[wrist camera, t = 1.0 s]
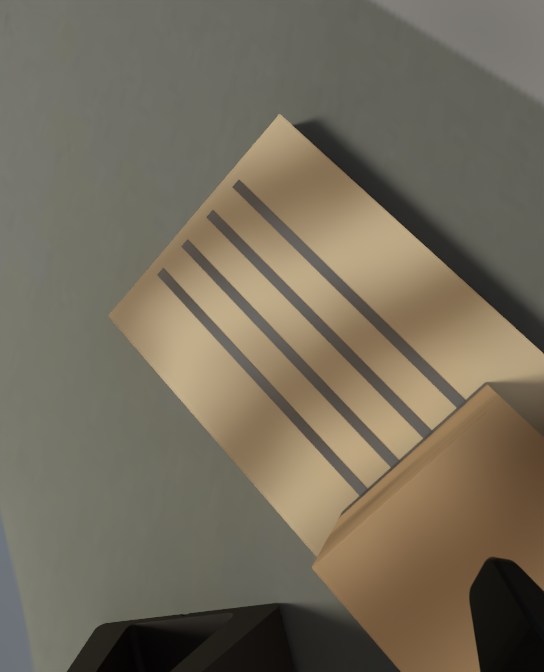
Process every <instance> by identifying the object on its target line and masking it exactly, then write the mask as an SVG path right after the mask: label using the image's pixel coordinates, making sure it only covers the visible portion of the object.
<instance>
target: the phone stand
mask: <svg viewBox="0 0 544 672" xmlns="http://www.w3.org/2000/svg"><path fill="white" fill-rule="evenodd" d="M67 672H294V669H293V665H292V661H291V657H290V653H289V649H288V645H287V640H286V636H285V632H284V628H283V624H282V620H281V616H280V612H279V608H278V605H277V604H275V603H273V604H264V605H256V606H247V607H239V608H231V609H222V610H214V611H205V612H197V613H189V614H188V615H186V616H182V614H180V615H171V616H163V617H155V618H146V619H138V620H129V621H121V622H112V623H105V624H102V625H100V626H99V627H97V628H96V629H95V630H94V632H93V633H92V635H91V636H90V638H89V639H88V641H87V642H86V644H85V645H84V647H83V648H82V650H81V651H80V653H79V654H78V656H77V657H76V659H75V660H74V662H73V663H72V665H71V666H70V668H69V669H68V671H67Z"/></svg>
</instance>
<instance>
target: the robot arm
mask: <svg viewBox="0 0 544 672" xmlns="http://www.w3.org/2000/svg"><path fill="white" fill-rule="evenodd" d="M469 603H470V610H471V616H472V622H473V629H474V635H475V641H476V648H477V654H478V660H479V667H480V672H544V591H543V590H542V589H541V588H540V587H539V586H538V585H537V584H536V583H535V582H534V581H533V580H532V579H531V578H530V576H529V575H528V574H527V573H526V572H525V571H524V570H523V569H522V568H521V567H520V566H519V565H518V564H516V563H515V562H514V561H512V560H510V559H504V558H498V557H489V558H487V559H486V560H485V562H484V563H483V565H482V567H481V569H480V571H479V572H478V574H477V576H476V578H475V579H474V581H473V583H472V585H471V587H470V591H469Z"/></svg>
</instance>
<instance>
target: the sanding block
mask: <svg viewBox="0 0 544 672" xmlns="http://www.w3.org/2000/svg"><path fill="white" fill-rule="evenodd" d="M489 557H498V558H504V559H510V560H512V561H514V562H515V563H516V564H518V565H519V566H520V567H521V568H522V569H523V570H524V571H525V572H526V573H527V574H528V575H529V576H530V578H531V579H532V580H533V581H534V582H535V583H536V584H537V585H538V586H539V587H540V588H541V589H542V590H543V591H544V438H543V437H542V436H541V435H540V434H539V433H538V432H537V431H536V430H535V429H534V428H533V427H532V426H531V425H530V424H529V423H528V422H527V421H526V420H525V419H523V418H522V417H521V416H520V415H519V414H518V413H517V412H516V411H515V410H514V409H513V408H512V407H511V406H510V405H509V404H508V403H507V402H506V401H505V400H504V399H502V398H501V397H500V396H499V395H498V394H497V393H496V392H495V391H494V390H493V389H492V388H491V387H490V386H489V385H487V384H486V383H484V384H483V385H482V386H481V387H479V388H478V389H477V390H476V391H475V392H474V393H473V394H472V395H471V396H469V397H468V398H467V399H466V400H465V401H464V402H463V403H462V404H461V405H460V406H458V407H457V408H456V409H455V410H454V411H453V412H452V413H451V414H450V415H448V416H447V417H446V418H445V419H444V420H443V421H442V422H441V423H440V424H438V425H437V426H436V427H435V428H434V429H433V430H432V431H431V432H430V433H429V434H427V435H426V436H425V437H424V438H423V439H422V440H421V441H420V442H419V443H417V444H416V445H415V446H414V447H413V448H412V449H411V450H410V451H409V452H408V453H406V454H405V455H404V456H403V457H402V458H401V459H400V460H399V461H398V462H396V463H395V464H394V465H393V466H392V467H391V468H390V469H389V470H388V471H386V472H385V473H384V474H383V475H382V476H381V477H380V478H379V479H378V480H377V481H375V482H374V483H373V484H372V485H371V486H370V487H369V488H368V489H367V490H365V491H364V492H363V493H362V494H361V495H360V496H359V497H358V498H357V499H356V500H354V501H353V502H352V503H351V504H350V505H349V506H348V507H347V508H346V509H344V510H343V511H342V513H341V515H340V517H339V519H338V520H337V522H336V524H335V526H334V528H333V529H332V531H331V533H330V535H329V537H328V538H327V540H326V542H325V544H324V546H323V548H322V549H321V551H320V553H319V555H318V557H317V558H316V560H315V562H314V564H313V566H312V569H313V570H314V571H315V572H316V573H317V575H318V576H319V577H320V578H321V579H322V580H323V582H324V583H325V584H326V585H327V586H328V587H329V589H330V590H331V591H332V592H333V593H334V594H335V596H336V597H337V598H338V599H339V600H340V601H341V603H342V604H343V605H344V606H345V607H346V608H347V610H348V611H349V612H350V613H351V614H352V615H353V617H354V618H355V619H356V620H357V621H358V622H359V624H360V625H361V626H362V627H363V628H364V629H365V631H366V632H367V633H368V634H369V635H370V636H371V638H372V639H373V640H374V641H375V642H376V643H377V645H378V646H379V647H380V648H381V649H382V650H383V652H384V653H385V654H386V655H387V656H388V657H389V659H390V660H391V661H392V662H393V663H394V664H395V666H396V667H397V668H398V669H399V670H400V671H401V672H480V667H479V660H478V654H477V648H476V641H475V635H474V629H473V622H472V616H471V610H470V603H469V591H470V587H471V585H472V583H473V581H474V579H475V578H476V576H477V574H478V572H479V571H480V569H481V567H482V565H483V563H484V562H485V560H486V559H487V558H489Z"/></svg>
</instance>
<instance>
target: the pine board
mask: <svg viewBox="0 0 544 672" xmlns="http://www.w3.org/2000/svg"><path fill="white" fill-rule="evenodd" d="M108 316H109V318H110V319H111V320H112V321H113V322H114V323H115V324H116V326H117V327H118V328H119V329H120V330H121V331H122V333H123V334H124V335H125V336H126V337H127V338H128V339H129V341H130V342H131V343H132V344H133V345H134V346H135V348H136V349H137V350H138V351H139V352H140V353H141V355H142V356H143V357H144V358H145V359H146V360H147V361H148V363H149V364H150V365H151V366H152V367H153V368H154V370H155V371H156V372H157V373H158V374H159V375H160V376H161V378H162V379H163V380H164V381H165V382H166V383H167V385H168V386H169V387H170V388H171V389H172V390H173V392H174V393H175V394H176V395H177V396H178V397H179V398H180V400H181V401H182V402H183V403H184V404H185V405H186V407H187V408H188V409H189V410H190V411H191V412H192V413H193V415H194V416H195V417H196V418H197V419H198V420H199V422H200V423H201V424H202V425H203V426H204V427H205V429H206V430H207V431H208V432H209V433H210V434H211V435H212V437H213V438H214V439H215V440H216V441H217V442H218V444H219V445H220V446H221V447H222V448H223V449H224V450H225V452H226V453H227V454H228V455H229V456H230V457H231V459H232V460H233V461H234V462H235V463H236V464H237V466H238V467H239V468H240V469H241V470H242V471H243V472H244V474H245V475H246V476H247V477H248V478H249V479H250V481H251V482H252V483H253V484H254V485H255V486H256V487H257V489H258V490H259V491H260V492H261V493H262V494H263V496H264V497H265V498H266V499H267V500H268V501H269V503H270V504H271V505H272V506H273V507H274V508H275V509H276V511H277V512H278V513H279V514H280V515H281V516H282V518H283V519H284V520H285V521H286V522H287V523H288V524H289V526H290V527H291V528H292V529H293V530H294V531H295V533H296V534H297V535H298V536H299V537H300V538H301V540H302V541H303V542H304V543H305V544H306V545H307V546H308V548H309V549H310V550H311V551H312V552H313V553H314V555H315V556H316V557H318V555H319V553H320V551H321V549H322V548H323V546H324V544H325V542H326V540H327V538H328V537H329V535H330V533H331V531H332V529H333V528H334V526H335V524H336V522H337V520H338V519H339V517H340V515H341V513H342V511H343V510H344V509H346V508H347V507H348V506H349V505H350V504H351V503H352V502H353V501H354V500H356V499H357V498H358V497H359V496H360V495H361V494H362V493H363V492H364V491H365V490H367V489H368V488H369V487H370V486H371V485H372V484H373V483H374V482H375V481H377V480H378V479H379V478H380V477H381V476H382V475H383V474H384V473H385V472H386V471H388V470H389V469H390V468H391V467H392V466H393V465H394V464H395V463H396V462H398V461H399V460H400V459H401V458H402V457H403V456H404V455H405V454H406V453H408V452H409V451H410V450H411V449H412V448H413V447H414V446H415V445H416V444H417V443H419V442H420V441H421V440H422V439H423V438H424V437H425V436H426V435H427V434H429V433H430V432H431V431H432V430H433V429H434V428H435V427H436V426H437V425H438V424H440V423H441V422H442V421H443V420H444V419H445V418H446V417H447V416H448V415H450V414H451V413H452V412H453V411H454V410H455V409H456V408H457V407H458V406H460V405H461V404H462V403H463V402H464V401H465V400H466V399H467V398H468V397H469V396H471V395H472V394H473V393H474V392H475V391H476V390H477V389H478V388H479V387H481V386H482V385H483V384H484V383H486V384H487V385H489V386H490V387H491V388H492V389H493V390H494V391H495V392H496V393H497V394H498V395H499V396H500V397H501V398H502V399H504V400H505V401H506V402H507V403H508V404H509V405H510V406H511V407H512V408H513V409H514V410H515V411H516V412H517V413H518V414H519V415H520V416H521V417H522V418H523V419H525V420H526V421H527V422H528V423H529V424H530V425H531V426H532V427H533V428H534V429H535V430H536V431H537V432H538V433H539V434H540V435H541V436H542V437H543V438H544V354H543V353H542V352H541V351H540V350H539V349H538V348H537V347H536V346H535V345H534V344H532V343H531V342H530V341H529V340H528V339H527V338H526V337H525V336H524V335H523V334H521V333H520V332H519V331H518V330H517V329H516V328H515V327H514V326H513V325H512V324H510V323H509V322H508V321H507V320H506V319H505V318H504V317H503V316H502V315H501V314H499V313H498V312H497V311H496V310H495V309H494V308H493V307H492V306H491V305H489V304H488V303H487V302H486V301H485V300H484V299H483V298H482V297H481V296H480V295H478V294H477V293H476V292H475V291H474V290H473V289H472V288H471V287H470V286H469V285H467V284H466V283H465V282H464V281H463V280H462V279H461V278H460V277H459V276H458V275H456V274H455V273H454V272H453V271H452V270H451V269H450V268H449V267H448V266H447V265H445V264H444V263H443V262H442V261H441V260H440V259H439V258H438V257H437V256H436V255H434V254H433V253H432V252H431V251H430V250H429V249H428V248H427V247H426V246H425V245H423V244H422V243H421V242H420V241H419V240H418V239H417V238H416V237H415V236H413V235H412V234H411V233H410V232H409V231H408V230H407V229H406V228H405V227H404V226H402V225H401V224H400V223H399V222H398V221H397V220H396V219H395V218H394V217H393V216H391V215H390V214H389V213H388V212H387V211H386V210H385V209H384V208H383V207H382V206H380V205H379V204H378V203H377V202H376V201H375V200H374V199H373V198H372V197H371V196H369V195H368V194H367V193H366V192H365V191H364V190H363V189H362V188H361V187H360V186H358V185H357V184H356V183H355V182H354V181H353V180H352V179H351V178H350V177H349V176H347V175H346V174H345V173H344V172H343V171H342V170H341V169H340V168H339V167H337V166H336V165H335V164H334V163H333V162H332V161H331V160H330V159H329V158H328V157H326V156H325V155H324V154H323V153H322V152H321V151H320V150H319V149H318V148H317V147H315V146H314V145H313V144H312V143H311V142H310V141H309V140H308V139H307V138H306V137H304V136H303V135H302V134H301V133H300V132H299V131H298V130H297V129H296V128H295V127H293V126H292V125H291V124H290V123H289V122H288V121H287V120H286V119H285V118H284V117H282V116H281V115H280V114H279V115H278V116H277V118H276V119H275V120H274V121H273V122H272V123H271V125H270V126H269V127H268V128H267V129H266V131H265V132H264V133H263V134H262V135H261V136H260V138H259V139H258V140H257V141H256V142H255V144H254V145H253V146H252V147H251V148H250V149H249V151H248V152H247V153H246V154H245V155H244V156H243V158H242V159H241V160H240V161H239V162H238V164H237V165H236V166H235V167H234V168H233V169H232V171H231V172H230V173H229V174H228V175H227V176H226V178H225V179H224V180H223V181H222V182H221V184H220V185H219V186H218V187H217V188H216V189H215V191H214V192H213V193H212V194H211V195H210V197H209V198H208V199H207V200H206V201H205V202H204V204H203V205H202V206H201V207H200V208H199V209H198V211H197V212H196V213H195V214H194V215H193V217H192V218H191V219H190V220H189V221H188V222H187V224H186V225H185V226H184V227H183V228H182V229H181V231H180V232H179V233H178V234H177V235H176V237H175V238H174V239H173V240H172V241H171V242H170V244H169V245H168V246H167V247H166V248H165V250H164V251H163V252H162V253H161V254H160V255H159V257H158V258H157V259H156V260H155V261H154V262H153V264H152V265H151V266H150V267H149V268H148V270H147V271H146V272H145V273H144V274H143V275H142V277H141V278H140V279H139V280H138V281H137V282H136V284H135V285H134V286H133V287H132V288H131V290H130V291H129V292H128V293H127V294H126V295H125V297H124V298H123V299H122V300H121V301H120V303H119V304H118V305H117V306H116V307H115V308H114V310H113V311H112V312H111V313H110V314H109V315H108Z"/></svg>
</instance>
